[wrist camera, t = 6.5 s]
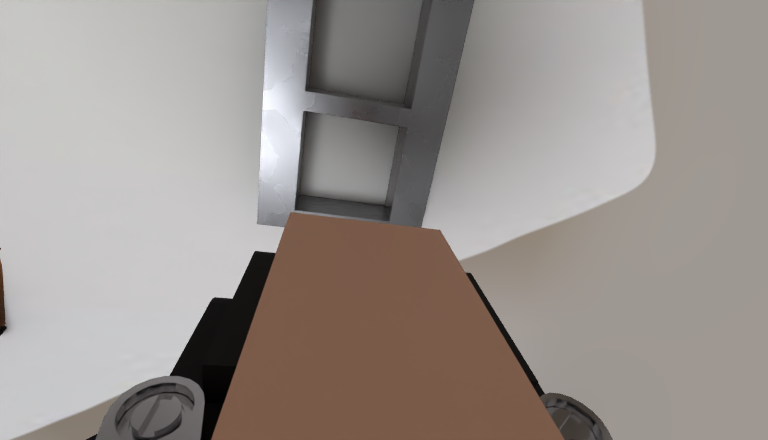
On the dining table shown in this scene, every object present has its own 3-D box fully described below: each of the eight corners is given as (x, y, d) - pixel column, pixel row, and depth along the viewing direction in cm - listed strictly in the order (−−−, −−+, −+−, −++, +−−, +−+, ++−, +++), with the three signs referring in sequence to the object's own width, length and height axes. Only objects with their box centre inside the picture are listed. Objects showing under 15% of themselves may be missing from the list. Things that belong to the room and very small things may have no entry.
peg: (290, 212, 10) (157, 592, 3) (440, 230, 11) (641, 568, 4) (279, 336, 12) (179, 780, 4) (410, 345, 13) (507, 738, 5)
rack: (290, -248, 18) (281, -304, 15) (499, -180, 20) (525, -219, 17) (265, 207, 27) (257, 224, 24) (410, 224, 29) (417, 241, 26)
